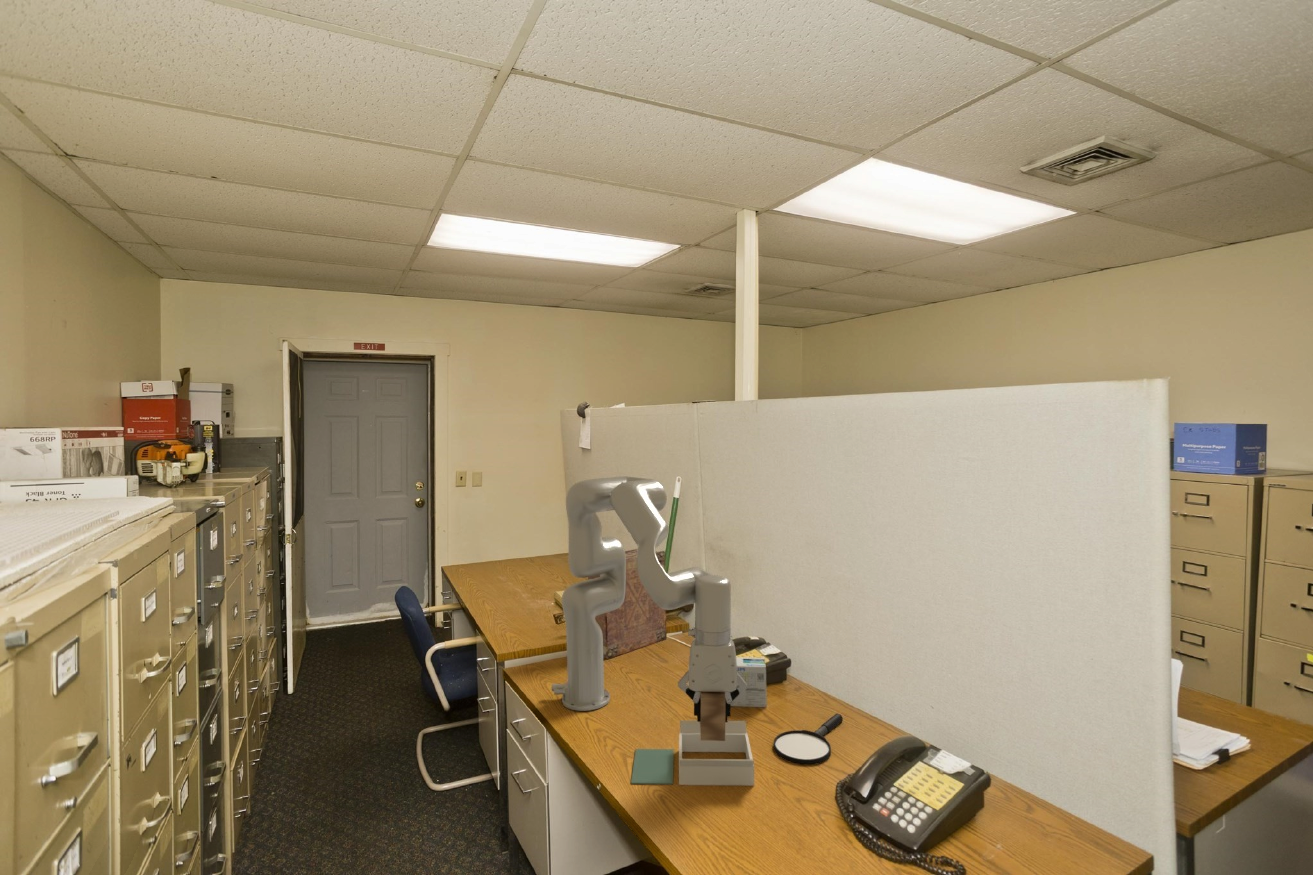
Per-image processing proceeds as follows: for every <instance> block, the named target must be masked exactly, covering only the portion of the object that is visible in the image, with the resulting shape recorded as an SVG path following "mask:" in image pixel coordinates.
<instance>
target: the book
mask: <svg viewBox="0 0 1313 875" xmlns="http://www.w3.org/2000/svg"><path fill="white" fill-rule="evenodd" d="M637 550H638V548H634V549H630V550H629V549H628V550H625V554H626V584H625V598H624V602H623V604H622V605H621V607H619V608H618V609H616V610H614V611H610V612H607V613H604V614H600V615H598V616H596V617H595V620H596V622H597V623H598V625H599V626H600V628H601V630H602V633H603V659H607V660H610V659H613V658H616V657H619V656H622V655H625V654H628V653H631V652H633V651H634V652H635V651H636V650H639V649H642V648H645V647H649V646H652V645H654V644H657V643H660V642H663V641H666V640H667V637H668V635H667V610H665V609H662V608H661V607H659V606H658V605H657V604H656V603H655V602H654V601H653V600H652V598H651V597H650V596H649V594H648V593H647V591H646V589H645V588H644V586H643V584H642V583H641V581H640V578H639V576H638V571H637V563H636V557H637ZM655 552H656V557H657V559H658V561H659V563H660V565H661V566H662V568H663V569H664V571H665V572H666V551H665V550H660V551H656V550H655ZM599 577H600V575H596V576H591V577H587V578H588V579H587V580H589V579H595V578H599Z"/></svg>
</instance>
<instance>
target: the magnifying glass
mask: <svg viewBox="0 0 1313 875" xmlns="http://www.w3.org/2000/svg"><path fill="white" fill-rule="evenodd" d="M843 721H844V718H843V716H842V715H841V714H840V713H835V714H833V716H832V717H830V718H829V719H828V720H826V721H825V722H824V723H822V724H821V725H820V727H818V728H817V729H816V730H814V731H811V730H806V729H802V730H795V729H793V730H787V731H785V732H781V733H780V734H778V735H776V737H774V739H773V751H774V753H775V754H776V755H777V756H778V757H779V758H781V759H783V760H784V761H787V762H789V763H792V764H795V765H796V764H797V765H801V766H802V765H803V766H811V765H813V766H814V765H818V764H822V763H825V762H826V761H827V760H829V759H830V757H831V755H832V749H831V748H832V747H831V744H830V742H829V741H828V740H827V738H826V737H825V736H826V735H827V734H829V733H830V732H831V731H833V730H834V729H835V728H836V727H837V726H839V725H840V724H841V723H842V722H843Z"/></svg>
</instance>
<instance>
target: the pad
mask: <svg viewBox="0 0 1313 875" xmlns="http://www.w3.org/2000/svg"><path fill="white" fill-rule="evenodd" d="M674 750H675V749H674V748H673V749H672V748H648V749H647V748H635V753H634V759H633V766H632V771H631V772H632V774H631V780H630V784H631V785H673V784H674V758H675V757H674V752H675V751H674Z"/></svg>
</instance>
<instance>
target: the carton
mask: <svg viewBox="0 0 1313 875" xmlns="http://www.w3.org/2000/svg"><path fill="white" fill-rule="evenodd" d="M683 752H684V753H745V758H744V759H740V758H739V759H738V758H737V759H736V758H735V759H733V758H731V759H729V758H727V759H725V758H683ZM678 785H679V786H753V787H755V760H754V758H753V754H752V748H751V745H750V739H749V734H748V731H747V720H727V722H725V741H707V740H701V734H700V722H697V720H679V733H678Z"/></svg>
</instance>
